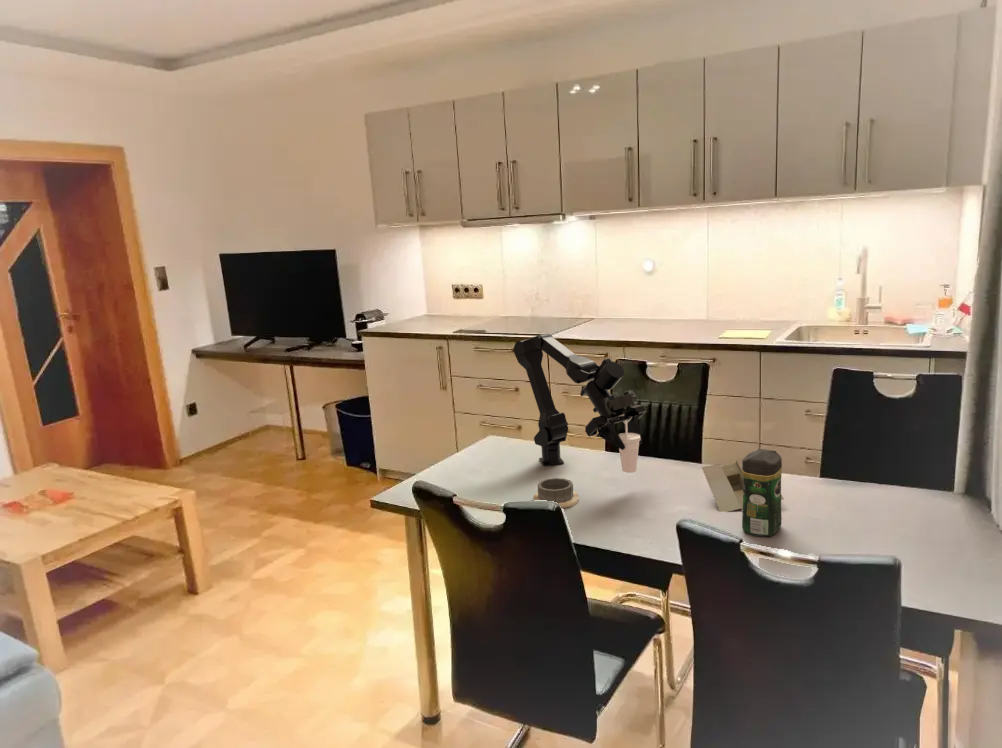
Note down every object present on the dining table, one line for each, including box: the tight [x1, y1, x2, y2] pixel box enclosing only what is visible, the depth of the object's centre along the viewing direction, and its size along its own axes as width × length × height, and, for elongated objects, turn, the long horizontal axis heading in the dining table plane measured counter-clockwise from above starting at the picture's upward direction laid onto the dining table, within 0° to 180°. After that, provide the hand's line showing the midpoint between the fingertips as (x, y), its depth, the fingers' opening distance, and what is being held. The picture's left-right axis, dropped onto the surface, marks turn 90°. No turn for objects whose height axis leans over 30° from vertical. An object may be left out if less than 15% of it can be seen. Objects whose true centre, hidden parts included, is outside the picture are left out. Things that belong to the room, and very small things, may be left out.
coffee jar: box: [741, 448, 783, 537], centre depth 163 cm, size 10×8×19 cm
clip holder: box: [532, 477, 580, 509], centre depth 189 cm, size 12×12×4 cm
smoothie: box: [617, 421, 642, 473], centre depth 191 cm, size 6×6×14 cm
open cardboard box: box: [701, 458, 784, 513], centre depth 183 cm, size 16×9×15 cm
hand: (632, 446), depth 190 cm, fingers closed on smoothie, 6 cm apart
